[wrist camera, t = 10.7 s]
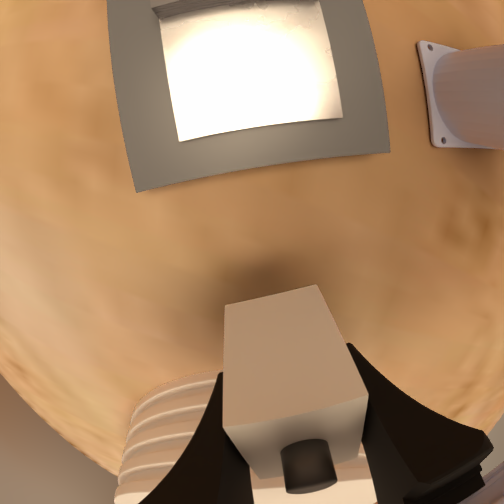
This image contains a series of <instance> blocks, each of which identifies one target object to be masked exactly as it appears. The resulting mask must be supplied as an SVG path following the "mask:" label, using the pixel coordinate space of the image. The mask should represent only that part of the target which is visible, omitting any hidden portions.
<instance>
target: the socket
mask: <svg viewBox="0 0 504 504" xmlns="http://www.w3.org/2000/svg"><path fill="white" fill-rule="evenodd" d="M319 3H320V6H321V10H322V14H323V18H324V21H325V25H326V30H327V34H328V38H329V42H330V47H331V52H332V56H333V61H334V66H335V71H336V77H337V82H338V88H339V94H340V100H341V107H342V114H343V118H333V119H319V120H308V121H298V122H288V123H280V124H272V125H265V126H258V127H251V128H245V129H239V130H233V131H228V132H222V133H217V134H212V135H207V136H202V137H198V138H193V139H189V140H184V141H180V142H179V137H178V132H177V127H176V121H175V116H174V111H173V105H172V100H171V94H170V88H169V82H168V76H167V70H166V64H165V57H164V51H163V44H162V37H161V29H160V22H159V19H158V17H157V16H156V14H155V13H154V12H153V10H152V9H151V3H150V0H107V14H108V30H109V42H110V52H111V61H112V70H113V77H114V85H115V91H116V98H117V104H118V110H119V116H120V121H121V127H122V132H123V137H124V142H125V147H126V151H127V156H128V160H129V165H130V169H131V173H132V178H133V182H134V186H135V190H136V193H138V192H142V191H146V190H150V189H154V188H158V187H162V186H166V185H170V184H175V183H179V182H184V181H188V180H193V179H198V178H202V177H207V176H212V175H217V174H223V173H228V172H233V171H239V170H245V169H251V168H257V167H263V166H269V165H276V164H283V163H290V162H297V161H305V160H313V159H321V158H331V157H340V156H351V155H363V154H376V153H390V141H389V130H388V121H387V113H386V105H385V98H384V91H383V85H382V79H381V74H380V69H379V63H378V59H377V54H376V49H375V45H374V41H373V36H372V32H371V29H370V25H369V21H368V17H367V14H366V11H365V7H364V4H363V1H362V0H319Z"/></svg>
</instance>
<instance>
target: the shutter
mask: <svg viewBox="0 0 504 504" xmlns="http://www.w3.org/2000/svg"><path fill="white" fill-rule="evenodd" d="M150 3H151V9H152V10H153V12H154V13H155V14H156V16H157V17H158V19H159V22H160V29H161V37H162V44H163V51H164V57H165V64H166V70H167V76H168V82H169V88H170V94H171V100H172V105H173V111H174V116H175V121H176V127H177V132H178V137H179V142H180V141H184V140H189V139H193V138H198V137H202V136H207V135H212V134H217V133H222V132H228V131H233V130H239V129H245V128H251V127H258V126H265V125H272V124H280V123H288V122H298V121H308V120H319V119H333V118H343V114H342V107H341V100H340V94H339V88H338V82H337V77H336V71H335V66H334V61H333V56H332V52H331V47H330V42H329V38H328V34H327V30H326V25H325V21H324V18H323V14H322V10H321V6H320V3H319V0H150Z"/></svg>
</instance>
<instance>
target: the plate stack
mask: <svg viewBox="0 0 504 504" xmlns="http://www.w3.org/2000/svg"><path fill="white" fill-rule="evenodd" d="M220 372H223V370H216V371H209V372H203V373H198V374H194V375H189V376H186V377H182V378H179V379H176V380H173V381H170V382H167V383H165V384H163V385H160V386H159V387H157V388H155V389H153V390H151V391H150V392H148V393H147V394H146V395H145V396H143V397H142V398H141V399H140V400H139V402H138V403H137V404H136V406H135V408H134V410H133V414H132V418H131V422H130V427H129V430H128V434H127V438H126V445H125V448H124V451H123V456H122V466H121V467H120V470H119V475H118V483H119V485H120V486H118V487H117V489H116V491H115V497H114V502H115V504H138V503H139V502H140V501H141V500H143V499H144V498H145V497H146V496H147V495H148V494H149V493H150V492H151V491H152V490H153V489H154V488H155V487H156V486H157V485H158V484H159V483H160V482H161V480H162V479H163V478H164V477H165V476H166V475H167V474H168V472H169V471H170V470H171V469H172V467H173V466H174V465H175V463H176V462H177V460H178V459H179V458H180V456H181V455H182V453H183V452H184V450H185V448H186V447H187V445H188V443H189V442H190V440H191V438H192V436H193V435H194V433H195V431H196V429H197V427H198V425H199V423H200V421H201V418H202V416H203V414H204V412H205V409H206V407H207V404H208V402H209V399H210V397H211V394H212V391H213V389H214V386H215V383H216V379H217V376H218V374H219V373H220ZM334 468H335V472H336V476H337V479H338V481H337V483H335V484H334V485H332V486H331V487H328V488H326V489H323V490H320V491H316V492H312V493H307V494H289V493H287V492H286V489H285V483H284V476H281V477H275V478H268V479H261V480H260V479H259V478H258V476H257V475H256V474H255V473H254V471H253V470H252V468H251V467H250V476H251V484H252V491H253V498H254V504H374V503H375V502H377V498H376V494H375V489H374V485H373V481H372V477H371V473H370V469H369V465H368V462H367V458H366V455H365V451H364V448H363V445H362V442H361V444H360V449H359V453H358V458H356V459H353V460H349V461H346V462H343V463H339V464H336V465H334Z"/></svg>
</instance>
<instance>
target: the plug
mask: <svg viewBox="0 0 504 504" xmlns="http://www.w3.org/2000/svg"><path fill="white" fill-rule="evenodd" d="M368 396H369V394H368V392H367V389H366V387H365V385H364V383H363V381H362V378H361V376H360V374H359V372H358V369H357V367H356V365H355V363H354V361H353V359H352V356H351V354H350V352H349V350H348V348H347V346H346V343H345V341H344V339H343V337H342V335H341V333H340V331H339V329H338V327H337V325H336V322H335V320H334V318H333V316H332V314H331V312H330V310H329V308H328V306H327V304H326V302H325V300H324V298H323V296H322V294H321V292H320V290H319V288H318V286H317V284H315V285H311V286H307V287H303V288H299V289H295V290H290V291H286V292H282V293H278V294H274V295H269V296H265V297H260V298H256V299H252V300H247V301H242V302H238V303H233V304H228V305H225V316H224V356H223V428H224V430H225V431H226V433H227V434H228V436H229V437H230V439H231V440H232V442H233V443H234V445H235V446H236V448H237V449H238V451H239V452H240V453H241V455H242V456H243V458H244V459H245V460H246V462H247V463H248V464H249V466H250V467H251V468H252V470H253V471H254V473H255V474H256V475H257V476H258V478H259V479H260V480H261V479H268V478H275V477H281V476H284V483H285V489H286V492H287V493H289V494H307V493H312V492H316V491H320V490H323V489H326V488H328V487H331V486H332V485H334V484H335V483H337V481H338V479H337V476H336V472H335V468H334V465H336V464H339V463H343V462H346V461H349V460H353V459H356V458H358V453H359V449H360V444H361V439H362V434H363V428H364V422H365V416H366V410H367V403H368Z"/></svg>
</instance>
